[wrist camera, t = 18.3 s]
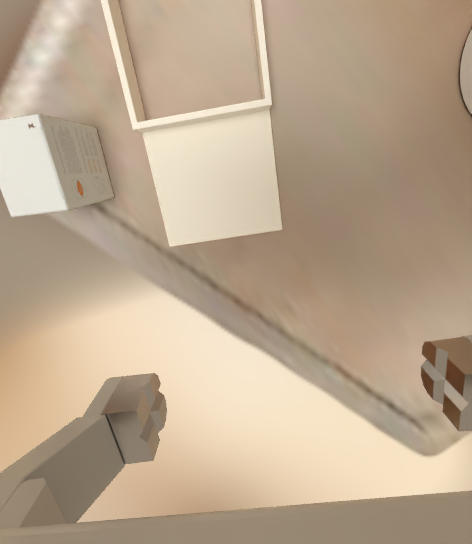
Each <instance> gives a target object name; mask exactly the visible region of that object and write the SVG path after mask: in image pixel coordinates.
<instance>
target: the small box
mask: <svg viewBox="0 0 472 544" xmlns="http://www.w3.org/2000/svg"><path fill="white" fill-rule="evenodd" d="M0 189H1V192H2V194H3V197H4V200H5V202H6V205H7V208H8V210H9V213H10V216H11V217H22V216H31V215H39V214H47V213H55V212H63V211H70V210H73V209H76V208H80V207H84V206H87V205H91V204H95V203H98V202H101V201H105V200H109V199H112V198H114V194H113V190H112V186H111V182H110V179H109V175H108V171H107V167H106V163H105V159H104V156H103V152H102V148H101V144H100V140H99V137H98V133H97V129H96V127H93V126H89V125H85V124H80V123H76V122H72V121H68V120H63V119H60V118H56V117H51V116H47V115H43V114H33V115H27V116H20V117H14V118H8V119H2V120H0Z"/></svg>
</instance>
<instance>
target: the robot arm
mask: <svg viewBox="0 0 472 544" xmlns="http://www.w3.org/2000/svg"><path fill="white" fill-rule="evenodd" d="M460 85H461V91H462V95H463V99H464V102H465V104H466V106H467V108H468V110H469V111H470V113H471V114H472V29H471V31H470V33H469V36H468V38H467V41H466V44H465V47H464V50H463V54H462V59H461V66H460ZM422 355H423V356H424V357H425V358H426V359H427V360H426V361H425V362H424V364H423V365H422V366H421V378H422V381H423V385H424V387H425V389H426V391H427V393H428V394H429V395H430V397H431V398H432V399H433V400H435V401H437V402H439V403H441V404H443V413H444V414H445V415H446V416H447V418H448V419H449V420H450V421H451V422H452V424H453V425H454V426H455V427H456V429H457V430H458V431H472V335H469V336H462V337H459V338H451V339H443V340H435V341H427V342H424V344H423V346H422ZM159 387H160V381H159V378H158V375H156V374H155V373H153V374H142V375H133V376H125V377H123V376H122V377H113V378H109V379H107V380H106V381H105V383H104V385H103V386H102V388H101V389H100V390H99V392H98V394H97V395H96V397H95V398H94V400H93V401H92V403H91V404H90V406H89V407H88V409H87V411H86V412H85V414H84V415H83V417H80V418H76V419H75V420H73V421H72V422H71V423H69V424H68V425H66V426H65V427H64V428H62V429H61V430H60V431H58V432H57V433H55V434H54V435H52V436H51V437H50V438H49V439H47V440H46V441H44V442H43V443H41V444H40V445H39V446H37V447H36V448H35V449H33V450H32V451H30V452H29V453H27V454H26V455H24V456H23V457H22V458H20V459H19V460H17V461H16V462H15V463H13V464H12V465H10V466H9V467H8V468H6V469H5V470H4V471H2V472H1V473H0V544H472V491H461V492H451V493H450V492H449V493H437V494H425V495H412V496H400V497H387V498H375V499H363V500H351V501H338V502H326V503H314V504H302V505H289V506H277V507H265V508H254V509H241V510H228V511H216V512H204V513H191V514H179V515H167V516H155V517H142V518H130V519H118V520H106V521H94V522H81V523H76V522H77V521H78V520H79V519H80V518H81V516H82V515H83V514H84V513H85V512H86V511H87V509H88V508H89V507H90V506H91V505H92V503H93V502H94V501H95V500H96V499H97V498H98V497H99V495H100V494H101V493H102V492H103V491H104V490H105V488H106V487H107V486H108V485H109V484H110V483H111V481H112V480H113V479H114V478H115V477H116V476H117V474H118V473H119V472H120V471H121V470H122V468H123V467H124V464H131V463H138V462H146V461H153V460H154V457H155V454H156V451H157V447H158V444H159V441H160V439H159V436H158V432H159V431H160V430H162V428H163V427H164V424H165V421H166V412H167V408H166V401H165V397H164V395H163V394H162V393H160V392H159V391H158V390H159Z"/></svg>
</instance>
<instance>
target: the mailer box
mask: <svg viewBox="0 0 472 544" xmlns="http://www.w3.org/2000/svg"><path fill="white" fill-rule="evenodd" d="M101 3H102V7H103V11H104V15H105V19H106V23H107V27H108V31H109V35H110V39H111V43H112V47H113V51H114V55H115V59H116V63H117V67H118V71H119V75H120V79H121V83H122V87H123V92H124V96H125V100H126V104H127V108H128V112H129V116H130V120H131V124H132V128H133V130H135V131H138V132H141V133H143V137H144V142H145V146H146V150H147V154H148V158H149V163H150V167H151V171H152V175H153V179H154V183H155V188H156V192H157V196H158V200H159V204H160V209H161V213H162V217H163V221H164V225H165V229H166V234H167V238H168V242H169V246H170V247H171V246H177V245H184V244H191V243H197V242H204V241H211V240H217V239H224V238H231V237H237V236H244V235H251V234H257V233H264V232H270V231H277V230H282V221H281V212H280V202H279V193H278V184H277V175H276V166H275V156H274V147H273V138H272V129H271V119H270V108H271V105H272V100H271V91H270V81H269V72H268V62H267V53H266V43H265V34H264V24H263V15H262V5H261V0H251V5H252V14H253V23H254V32H255V40H256V49H257V58H258V67H259V75H260V84H261V93H262V99H261V100H256V101H250V102H245V103H239V104H234V105H229V106H223V107H218V108H212V109H207V110H201V111H196V112H191V113H185V114H180V115H174V116H169V117H163V118H158V119H153V120H147V121H146V118H145V113H144V109H143V105H142V100H141V96H140V92H139V87H138V83H137V79H136V75H135V70H134V66H133V62H132V57H131V53H130V49H129V44H128V40H127V36H126V32H125V27H124V23H123V19H122V14H121V10H120V6H119V1H118V0H101Z"/></svg>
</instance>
